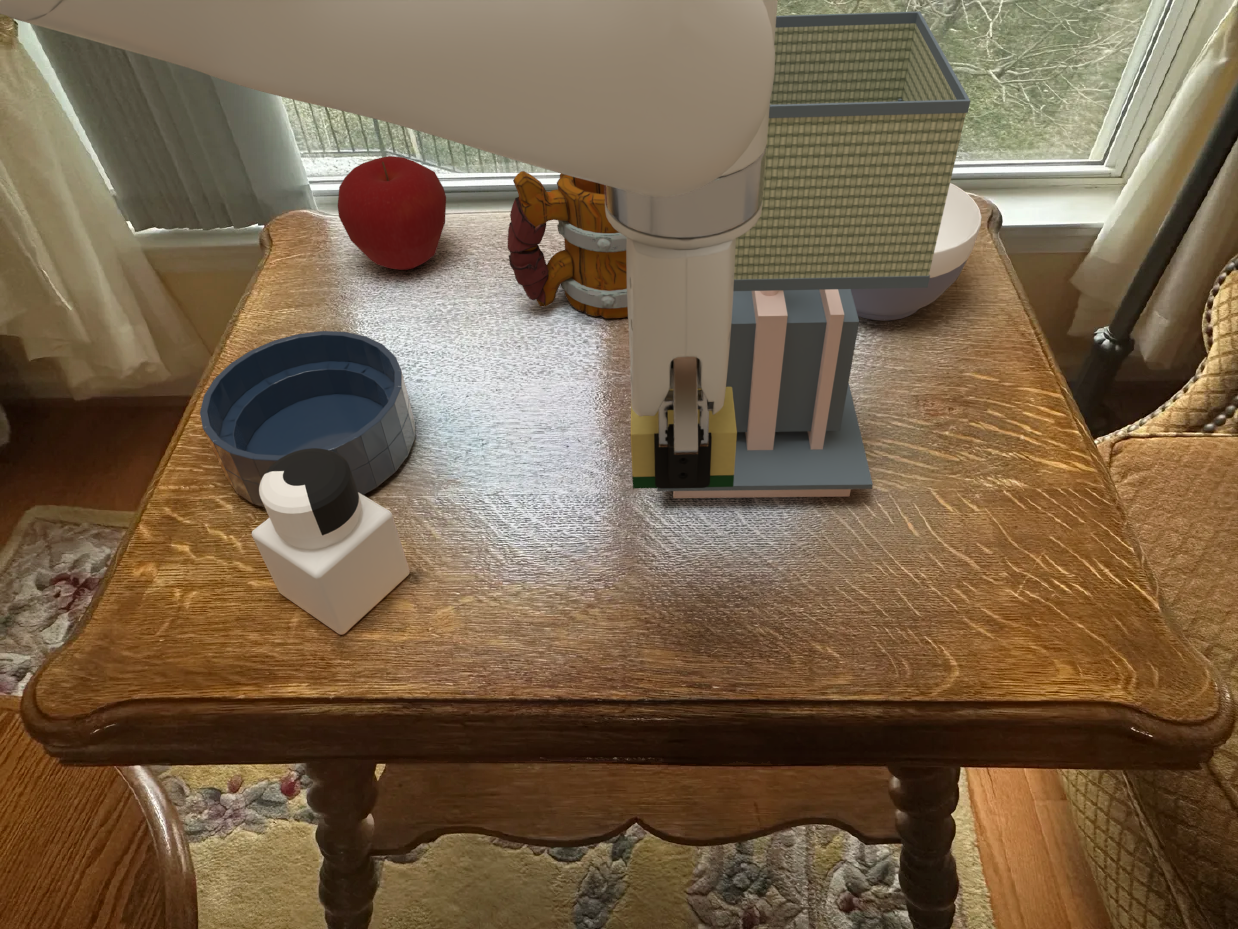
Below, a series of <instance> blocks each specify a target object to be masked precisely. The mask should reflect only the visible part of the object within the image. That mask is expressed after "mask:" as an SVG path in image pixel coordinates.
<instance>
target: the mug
mask: <svg viewBox="0 0 1238 929" xmlns="http://www.w3.org/2000/svg"><path fill="white" fill-rule="evenodd" d="M512 181H513V184H514V187H515V188H516V191H517V194H518V196H517V197H515V198H514V201H513V203H512V206H511V209H510V213H509V218H510V222H509V224H508V230H507V250H508V251H509V253H510V254H509V255H508V261H509V265H510V267H511V269H512V270H513V273H514V274H513V275H514V278H515V281H516V282H517V284H518V285H520V286H521V287H522V289H523V290H524V293H525V295H526V296H527V297H528V299H529V300H531V301H536V303H537V304H538V306H539V307H540V308H544V307H545V308H546V307H548V306H550V305H552V304H554V302H555V300H556V297H557V292H558V291H559V290H558V289H559V287H561V289H562V290H563V291H564V296H565V298H566V300H567V302H568V303H569V304H570V306H571V307H572V308H574V309H575V310H576V311H578V312H581V313H583V314H584V313H585V315H588V316H592V317H595V318H596V317H599V316H601V317H603V318H604V319H625V318H628V303H627V266H626V242H627V237H626V236H624V235H622V234H621V233H619V232H618V231H617V230H615V229H614V228H613V227H612V225H611V224H610V222H609V221H608V219H607V217H606V212H605V194H604V185H603V184H600V183H596V182H592V181H588V180H584V179H580V178H576V177H572V176H569V175H565V174H561V173H559V178H558V180H557V181H556V186H557V189H551V190H550V191H547V190H546V188H545V186H544V184H542V182H541V181H540V180H539V179H538V178H536V177H535V176H534V175H532V174H530V173H528V172H526V171H525V170H522V171H519V172H518V173H517V174H516V175H515V177H514V178H513V180H512ZM550 221H558V222H557V223H558V224H557V226H556V227H557V231H558V232H557V233H558V234H559V235H560V236H562V237H563V240H564V241H563V242H564V249H562V250H559V251H557V252H556V253H554V254H553V255H552V256H551V257H550V258H549V260H548V262H547V263H546V258H545V254H544V252H543V251H542V249H541V248H540V244H541V243H542V240H543V238H544V237H545V233H546V229H547V222H550Z"/></svg>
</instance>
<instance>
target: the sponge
mask: <svg viewBox="0 0 1238 929" xmlns="http://www.w3.org/2000/svg"><path fill="white" fill-rule="evenodd" d="M698 390H702V389H701V388H698ZM669 391H673V389H669ZM669 424H674V414H673V410H668V426H669ZM709 432H711V436H712V444H711V468H710V485H709V486H708V487H733V484H734V468H735V453H736V438H737V429H736V420H735V410H734V401H733V391H732V387H726V391H725V399H724V405H723V407H722V408H721V409H720V410H719V411H718V412H717V413H716V414H714V415H713V414H712V411H709ZM654 433H659V425H658V412H657V413H656V414H655V416H639V415H637V414H636V413H635V412H634V411H633V409H632V407H631V406H630V450H631V474H632V477H631V478H632V489H657V487H656V486H655V452H654Z"/></svg>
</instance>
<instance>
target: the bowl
mask: <svg viewBox="0 0 1238 929" xmlns="http://www.w3.org/2000/svg"><path fill="white" fill-rule="evenodd" d="M981 225H982V213H981V211H980V207H979V206H978V203H977V202H976V201H975V200H974V199H973V197H972V196H971V195H969V193H967V192H966V191H965V190H963V189H962V188H960V187H959V186H957V185H956V184H953V183H952V182H950V185H949V189H948V194H947V198H946V203H945V207H944V211H943V216H942V220H941V224H940V229H939V233H938V237H937V242H936V246H935V250H934V255H933V259H932V264H931V268H930V272H929V275H930V279H929V283H928V287H927V288H880V289H851V293H852V296H853V300H854V304H855V308H856V311H857V315H858V318H862V319H865V320H872V321H883V322H884V321H885V322H886V321H896V320H900V319H905V318H907V317H910V316H912V315H914V314H916V313H917V312H918V311H919V310H920V309H921V308H924V307H927V306H928V305H930V304H932V303H934V302H935V301H936V300H938V299H939V298H940V297H941V296H942V295H943V294H944V293H945V292H946V291H947V290H948V289H949V288H950V287H951V286H952V285H953V284H954V283H955V282H956V281H957V280H958V278H959V276H960V275H961V273H962V271H963V269H964V267H965V265H966V263H967V261H968V260H969V258H970V256H971V254H972V252H973V250H974V247H975V244H976V241H977V238H978V236H979V233H980V229H981Z"/></svg>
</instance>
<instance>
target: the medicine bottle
mask: <svg viewBox="0 0 1238 929" xmlns="http://www.w3.org/2000/svg"><path fill="white" fill-rule="evenodd" d="M259 494H260V497H261V500H262V502H263V504H264V506H265V507H264V509H265V511H266V513H267V515H268V518H267V519H265V520H264V521H263V522H262V523H260V524H259V525H258V526H256V527H255V528H254V529H253V530H252V531H251V537H252V539H253V541H254V543H255V545H256V548H257V549H258V551H259V554H260V556H261V558H262V560H263V562H264V564H265V566H266V568H267V570H268V572H269V574H270V577H271V579H272V581H273V583H274V585H275V587H276V589H277V591H278V593H279V594H280V595H282V596H283V597H284V598H286V599H287V600H289V601H290V602H292V603H293V604H295V605H296V606H297V607H299V608H300V609H302V610H303V611H305V612H306V613H308V614H309V615H311V616H312V617H313V618H315V620H317V621H320V622H321V623H322V624H323V625H325V626H326V627H328V628H329V629H331V630H332V631H334V632H335V633H337V634H338V635H339V636H340V635H345V634H346V633H348V631H349V630H350V629H352V628H353V627H354V626H355V625H356V624H357V623H358V622H359V621H360V620H361V619H362V618H364V617H365V616H366V615H367V614H368V613H369V612H370V611H371V610H372V609H374V607H376V606H377V605H378V604H379V603H380V602H381V601H382V600H383V599H384V598H386V597H387V596H388V595H389V594H390V593H391V592H392V591H393V590H394V589H395V588H396V587H397V586H398V585H399V584H400V583H401V582H402V581H404V580H405V579H406V578H407V577H408V576H409V575H410V574H411V573H410V572H411V571H410V567H409V563H408V560H407V556H406V553H405V551H404V548H403V544H402V541H401V538H400V535H399V534H400V533H399V531H398V529H397V528H398V527H397V525H396V522H395V518H394V515H393V513H392V512H391V511H390V510H389V509H388V508H386V507H384V506H383V505H380V504H379V503H377V502H376V501H375V500H372V499H371V498H369V497H367V496H366V495H365V494H364V495H362V494H360V493H359V492H358V491H357V488H356V485H355V482H354V479H353V476H352V473H351V470H350V467H349V464H348V463H347V461H346V460H345V459H344V458H343V457H342V456H341V455H339V454H337V453H335V452H332V451H329V450H325V449H319V448H311V449H303V450H299V451H295V452H293V453H290V454H288V455H286V456H284V457H282V458H280V459H279V460H277V461H276V462H275V463H274V464H273V465H271V466H270V468H269V469H268V470H267V471H266V473H265V474H264V476H263V478H262V480H261V482H260V486H259Z"/></svg>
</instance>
